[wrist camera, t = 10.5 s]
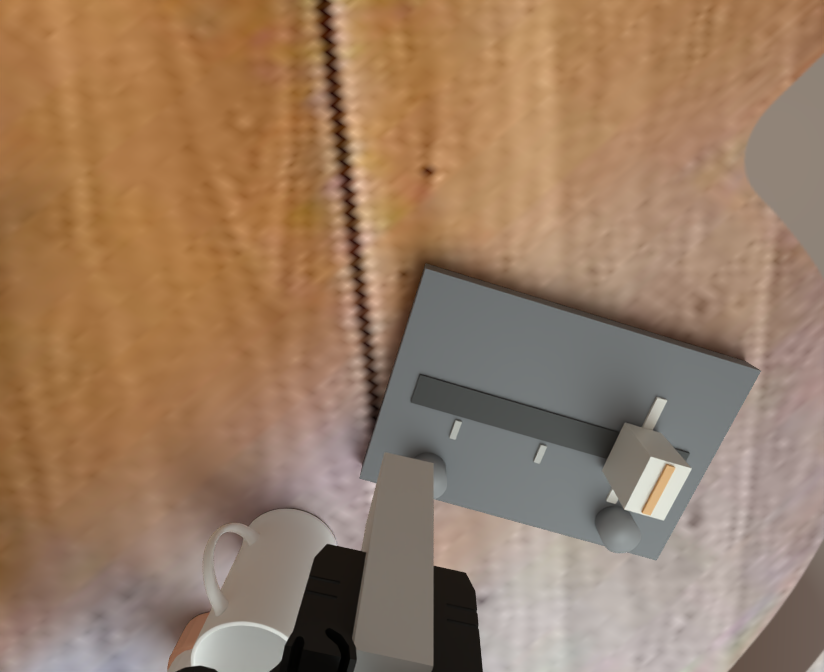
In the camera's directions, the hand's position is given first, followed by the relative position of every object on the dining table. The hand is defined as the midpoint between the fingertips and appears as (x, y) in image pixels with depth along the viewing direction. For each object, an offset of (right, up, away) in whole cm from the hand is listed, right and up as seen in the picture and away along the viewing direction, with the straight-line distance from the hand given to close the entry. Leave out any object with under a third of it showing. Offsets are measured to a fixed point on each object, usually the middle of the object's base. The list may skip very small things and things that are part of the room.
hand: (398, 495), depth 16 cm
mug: (-11, -13, +32) cm, 36 cm away
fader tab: (+17, -4, +25) cm, 31 cm away
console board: (+11, -2, +27) cm, 29 cm away
